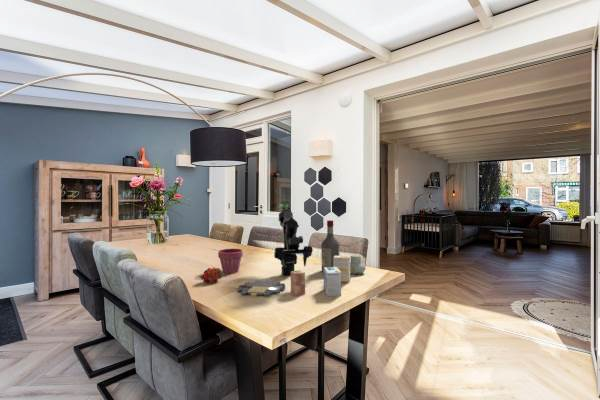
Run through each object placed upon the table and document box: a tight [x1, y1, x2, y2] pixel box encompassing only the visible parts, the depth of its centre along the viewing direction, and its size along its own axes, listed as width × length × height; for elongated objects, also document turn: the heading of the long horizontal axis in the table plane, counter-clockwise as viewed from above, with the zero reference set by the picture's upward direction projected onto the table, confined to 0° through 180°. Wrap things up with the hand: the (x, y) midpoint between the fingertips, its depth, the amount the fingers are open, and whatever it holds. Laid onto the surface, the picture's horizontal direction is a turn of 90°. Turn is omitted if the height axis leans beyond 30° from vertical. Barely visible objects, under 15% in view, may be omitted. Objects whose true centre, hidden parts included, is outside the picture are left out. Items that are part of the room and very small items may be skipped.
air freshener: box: [350, 254, 367, 275], centre depth 179 cm, size 11×8×10 cm
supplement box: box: [333, 255, 351, 283], centre depth 163 cm, size 8×5×13 cm, turn 71°
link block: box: [290, 269, 306, 297], centre depth 144 cm, size 5×5×10 cm
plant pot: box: [217, 248, 244, 275], centre depth 185 cm, size 14×14×13 cm
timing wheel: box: [237, 279, 286, 298], centre depth 151 cm, size 23×23×1 cm
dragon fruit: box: [200, 266, 223, 284], centre depth 164 cm, size 8×8×12 cm
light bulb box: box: [323, 267, 342, 297], centre depth 145 cm, size 11×7×11 cm, turn 5°
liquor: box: [321, 219, 340, 273], centre depth 183 cm, size 9×9×30 cm
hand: (295, 266), depth 149 cm, fingers open, 9 cm apart
